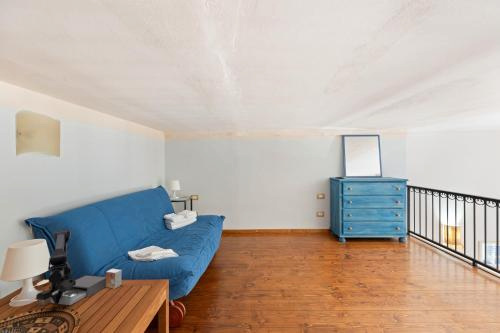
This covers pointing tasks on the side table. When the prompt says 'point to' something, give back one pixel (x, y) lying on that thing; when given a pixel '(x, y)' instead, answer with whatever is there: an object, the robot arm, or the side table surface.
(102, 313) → the side table surface
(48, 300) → the pedestal
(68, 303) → the tray
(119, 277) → the small box
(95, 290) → the housing
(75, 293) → the disc
